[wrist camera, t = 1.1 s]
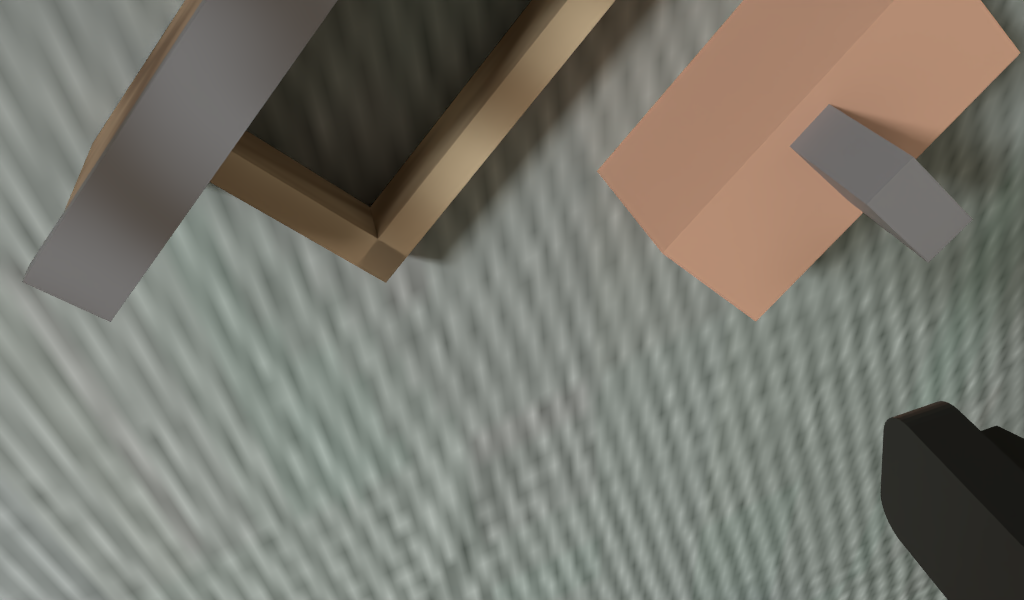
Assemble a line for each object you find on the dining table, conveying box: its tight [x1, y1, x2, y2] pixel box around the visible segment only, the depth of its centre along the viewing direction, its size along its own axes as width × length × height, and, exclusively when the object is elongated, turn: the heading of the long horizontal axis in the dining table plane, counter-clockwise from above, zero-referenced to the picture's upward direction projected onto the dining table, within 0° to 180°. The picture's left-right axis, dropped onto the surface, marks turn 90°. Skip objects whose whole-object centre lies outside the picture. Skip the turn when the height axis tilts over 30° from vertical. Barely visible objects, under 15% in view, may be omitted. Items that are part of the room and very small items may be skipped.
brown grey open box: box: [22, 0, 615, 322], centre depth 29 cm, size 24×12×11 cm, turn 140°
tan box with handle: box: [597, 0, 1020, 321], centre depth 34 cm, size 14×6×13 cm, turn 140°
